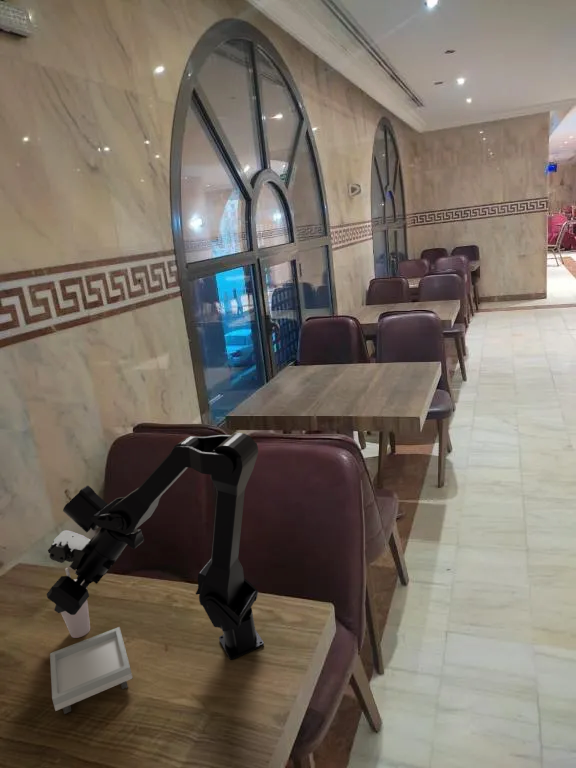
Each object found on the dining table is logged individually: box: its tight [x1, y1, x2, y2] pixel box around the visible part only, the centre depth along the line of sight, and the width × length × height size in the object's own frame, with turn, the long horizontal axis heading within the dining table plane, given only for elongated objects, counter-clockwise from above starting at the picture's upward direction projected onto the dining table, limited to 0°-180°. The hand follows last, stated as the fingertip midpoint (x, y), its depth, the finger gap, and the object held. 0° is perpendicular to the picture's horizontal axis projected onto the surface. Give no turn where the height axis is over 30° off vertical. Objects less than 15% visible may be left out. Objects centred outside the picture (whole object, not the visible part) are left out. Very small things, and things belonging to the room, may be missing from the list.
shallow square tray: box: [49, 626, 133, 715], centre depth 92 cm, size 12×12×4 cm
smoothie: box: [60, 567, 91, 639], centre depth 105 cm, size 6×6×14 cm
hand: (65, 600), depth 105 cm, fingers closed on smoothie, 6 cm apart
